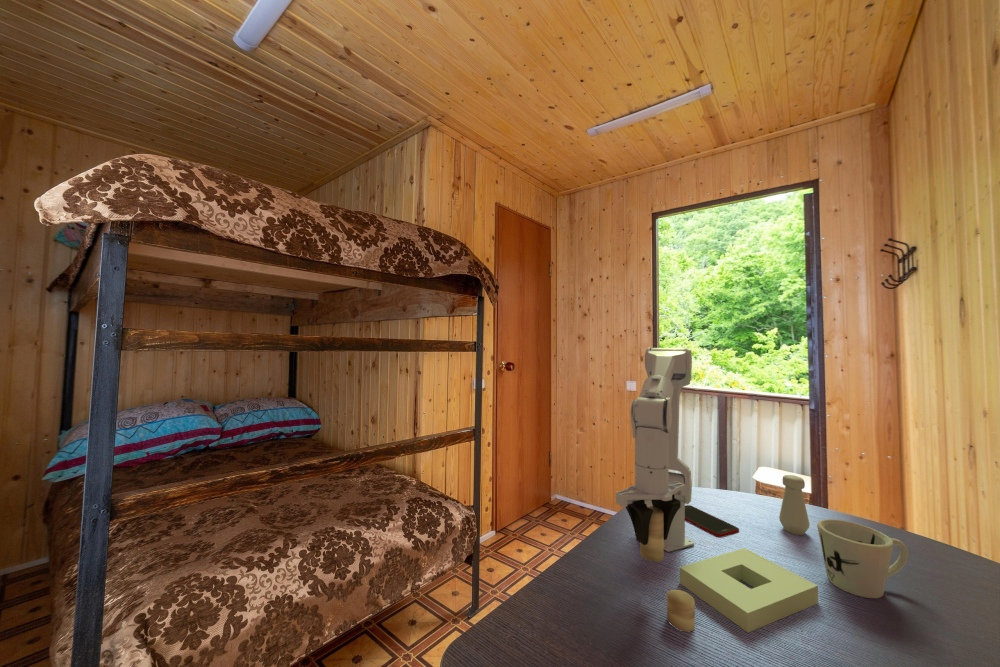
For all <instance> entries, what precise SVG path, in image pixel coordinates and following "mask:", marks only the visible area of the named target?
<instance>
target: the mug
mask: <svg viewBox="0 0 1000 667" xmlns="http://www.w3.org/2000/svg"><path fill="white" fill-rule="evenodd" d="M816 526H817V530H818V537H819V540H820V546H821V547H820V548H821V552H822V557H823V562H824V565H825V571H826V576H827V578H828V580H829V582H831V583H832V584H833V585H834V586H835V587H838V588H839V589H840V590H842V591H845V592H847V593H848V594H849V593H850V594H851V595H854V596H858V597H862V598H867V599H880V598H882V597H884V592H885V588H886V583H887V579H888V578H889V577H892V576H894V575H895V574H897V573H898V572H899V571H901V570H902V569H903V568H904V566H906V564H907V562H908V560H909V554H910V553H909V551H908V548H907V546H906V544H905V543H903V541H901V539H897V538H893V537H890V536H888V535H887V534H885V533H884V532H881V531H880V530H877V529H874V528H872V527H869V526H866V525H864V524H860V523H857V522H853V521H848V520H841V519H833V518H832V519H831V518H830V519H827V518H826V519H821V520H818V522H817V525H816ZM894 546H896V547H898V549H899V554H898V557H897V559H896V560H895V561H894V563H893V564H891V558H892V553H893V549H894ZM890 564H891V565H890Z"/></svg>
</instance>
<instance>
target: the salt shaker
mask: <svg viewBox="0 0 1000 667" xmlns="http://www.w3.org/2000/svg"><path fill="white" fill-rule="evenodd" d="M782 485H783V486H784V492H783V497H782V502H781V507H780V512H779V516H778V517H779V518H778V519H779V522H780V524H781V526H782V527H783V530H784V531H785V532H787V533H789V534H792V535H794V536H795V535H796V536H804V535H805V534H806V532H807V531H808V530H809V528H810V520H809V515H808V511H807V506H806V502H805V497H804V492H803V489H805V485H806V483H805V480H804V479H803V478H802V477H800V476H797V475H795V474H794V475H793V474H785V475H784V476H782Z"/></svg>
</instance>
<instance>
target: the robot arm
mask: <svg viewBox="0 0 1000 667" xmlns="http://www.w3.org/2000/svg"><path fill="white" fill-rule="evenodd" d="M692 354H693V353H692V350H691V349H690V348H689V347H684V348H681V347H672V348H671V347H650V346H648V347H647V349H645V351H644V368H645V372H646V375H647V378H646V379H645V380H644V381H643V384H642V386H641V391H640V392H639V396H638V397H637V398H636V399H633V400H632V401H631V405H630V422H631V428H632V438H634V484H632V485H631V486H629V487H627V488H624V489H622V490H619V491H615V504H617V505H619V506H620V507H622V508H625V509H626V511H627V514H628V515H629V517H630V520H631V524H632V527H633V530H634V534H635V538H636V541H637V542H639V544H640V543H642V544H643V545H646V544H647V543H648V537H649V524H650V519H651V516H652V513H653V510H652V509H650V508H649V507H647V506H652V507H656V508H659V509H661V510H662V511H663V513H664V551H665V552H667V553H669V552H673V551H677V550H681V549H685V548H688V547H692V546H695V542H694V541H692V540H690V539H689V538H687V537H686V521H685V506H686V505H690V503H691V502H692V493H693V492H692V481H693V480H692V472H691V468H690V467H689V465H688V464H686V463H685V462H684V461H682V459H681V458H679V439H680V438H679V434H680V429H679V428H680V397H681V393H682V389H683V388H684V387H686V386H688V385H691V380H692V371H693V368H692V367H693V357H692V356H693V355H692ZM669 470H672V471H669ZM673 471H675V472H673Z"/></svg>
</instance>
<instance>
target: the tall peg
mask: <svg viewBox="0 0 1000 667" xmlns="http://www.w3.org/2000/svg"><path fill="white" fill-rule="evenodd" d="M647 507H649V508H650V509H652V510H653V513H652V516H651V519H650V524H649V537H648V543H647V544H646V545H643V544H642V543H640V542H639V555H640V556H641V558H643V559H644V560H647V561H649V562H654V563H656V562H663V560H664V558H665V556H664V553H665V552H664V551H665V550H664V513H663V511H662V510H661V509H659V508H656V507H652V506H647Z"/></svg>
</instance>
